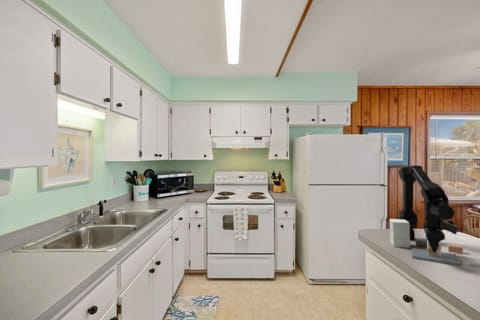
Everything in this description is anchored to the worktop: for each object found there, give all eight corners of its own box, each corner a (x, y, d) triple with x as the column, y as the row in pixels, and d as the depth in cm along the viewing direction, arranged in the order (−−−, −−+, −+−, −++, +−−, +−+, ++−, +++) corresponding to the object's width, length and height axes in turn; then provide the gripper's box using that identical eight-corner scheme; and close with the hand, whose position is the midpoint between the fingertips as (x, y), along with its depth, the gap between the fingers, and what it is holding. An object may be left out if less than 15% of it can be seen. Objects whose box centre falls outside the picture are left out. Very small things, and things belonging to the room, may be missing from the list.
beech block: (428, 255, 110) (427, 242, 110) (427, 252, 114) (427, 239, 114) (441, 257, 108) (440, 243, 108) (439, 254, 111) (439, 241, 111)
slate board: (412, 258, 110) (412, 255, 110) (411, 249, 120) (411, 247, 120) (460, 266, 101) (460, 263, 101) (455, 256, 111) (455, 254, 111)
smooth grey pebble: (416, 246, 124) (416, 241, 124) (415, 244, 129) (415, 238, 129) (428, 248, 122) (428, 242, 122) (427, 245, 126) (427, 239, 126)
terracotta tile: (448, 252, 117) (448, 245, 117) (447, 250, 119) (447, 244, 119) (462, 254, 114) (462, 247, 114) (461, 252, 116) (461, 245, 116)
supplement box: (405, 243, 129) (405, 219, 129) (410, 248, 122) (409, 222, 122) (389, 242, 132) (389, 218, 132) (393, 246, 125) (392, 221, 125)
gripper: (460, 221, 99) (461, 260, 98) (453, 212, 114) (453, 246, 114) (425, 217, 105) (426, 254, 105) (423, 210, 120) (423, 242, 120)
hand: (433, 249), depth 111 cm, fingers open, 8 cm apart
